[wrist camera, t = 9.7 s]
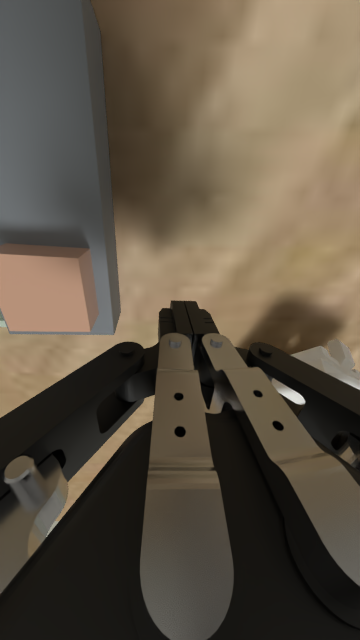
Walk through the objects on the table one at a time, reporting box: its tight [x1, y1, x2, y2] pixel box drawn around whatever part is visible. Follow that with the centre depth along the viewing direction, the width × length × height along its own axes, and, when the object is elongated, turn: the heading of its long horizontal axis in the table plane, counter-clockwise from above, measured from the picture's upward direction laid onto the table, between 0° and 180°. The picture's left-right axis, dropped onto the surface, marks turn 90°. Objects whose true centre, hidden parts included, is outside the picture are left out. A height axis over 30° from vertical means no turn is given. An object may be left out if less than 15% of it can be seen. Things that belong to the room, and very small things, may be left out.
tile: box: [0, 243, 99, 332], centre depth 13 cm, size 5×5×2 cm
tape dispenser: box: [272, 339, 360, 405], centre depth 24 cm, size 20×11×13 cm, turn 146°
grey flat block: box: [0, 0, 121, 335], centre depth 14 cm, size 18×8×4 cm, turn 175°
